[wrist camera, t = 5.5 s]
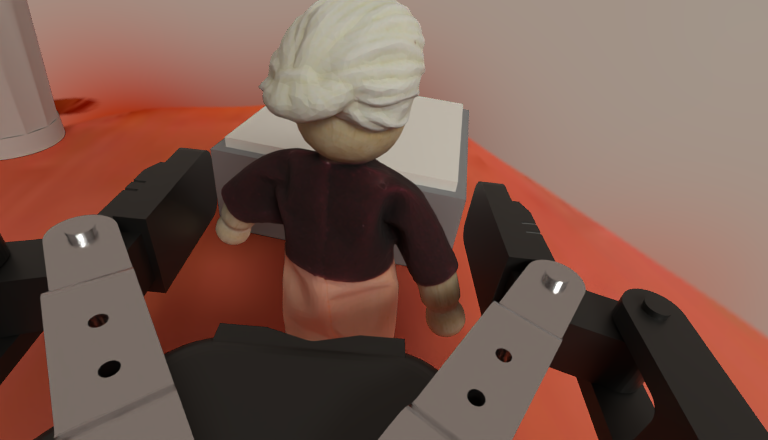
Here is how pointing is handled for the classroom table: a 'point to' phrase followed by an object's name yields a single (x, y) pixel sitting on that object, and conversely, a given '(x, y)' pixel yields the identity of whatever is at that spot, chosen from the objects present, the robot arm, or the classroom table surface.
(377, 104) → the grandmother figurine
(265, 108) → the plinth
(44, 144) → the cup
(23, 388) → the classroom table surface
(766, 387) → the classroom table surface
